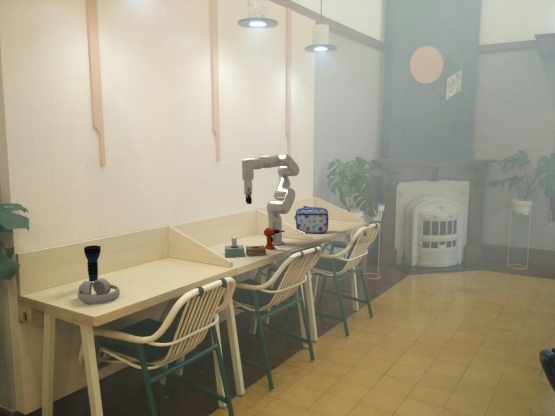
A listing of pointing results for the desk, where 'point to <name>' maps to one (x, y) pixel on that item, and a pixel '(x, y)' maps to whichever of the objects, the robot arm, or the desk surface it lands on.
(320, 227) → the lunch box
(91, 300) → the headphones
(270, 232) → the toy drill
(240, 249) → the rack holder
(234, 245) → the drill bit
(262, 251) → the socket block
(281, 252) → the desk surface
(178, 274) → the desk surface
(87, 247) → the flashlight
